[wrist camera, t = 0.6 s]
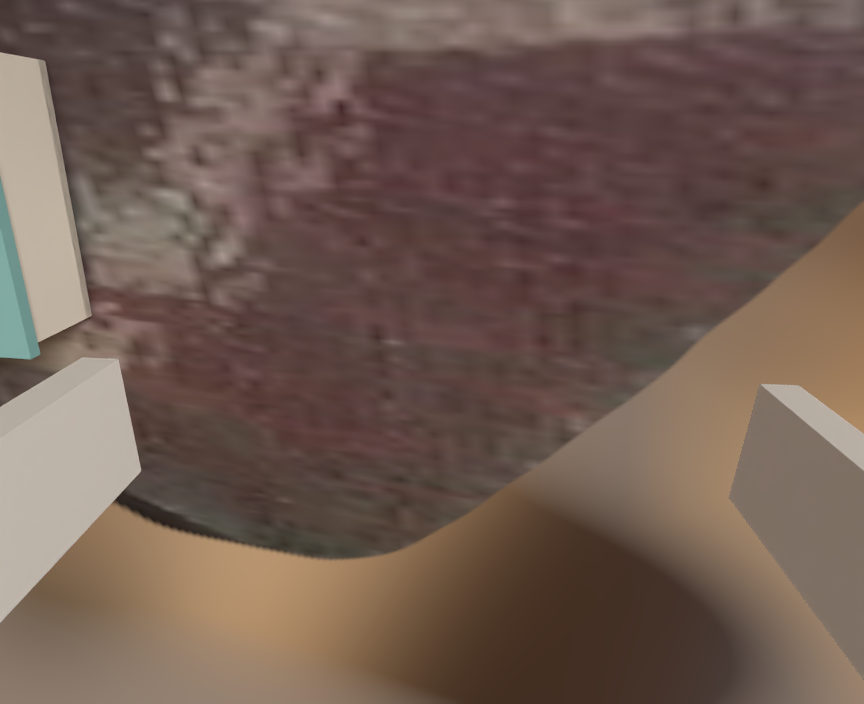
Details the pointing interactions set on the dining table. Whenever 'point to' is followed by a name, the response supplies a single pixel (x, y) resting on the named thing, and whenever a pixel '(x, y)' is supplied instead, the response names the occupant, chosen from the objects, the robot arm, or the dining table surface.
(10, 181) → the tub
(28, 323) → the lid
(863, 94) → the dining table surface
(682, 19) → the dining table surface
